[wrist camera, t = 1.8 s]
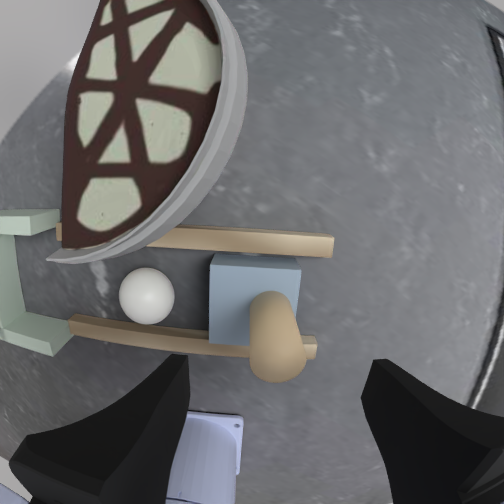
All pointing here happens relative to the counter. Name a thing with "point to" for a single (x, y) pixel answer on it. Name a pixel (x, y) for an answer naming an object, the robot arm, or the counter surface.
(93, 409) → the counter surface
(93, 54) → the food container
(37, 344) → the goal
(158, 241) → the lane
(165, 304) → the ball
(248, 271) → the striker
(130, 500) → the robot arm
